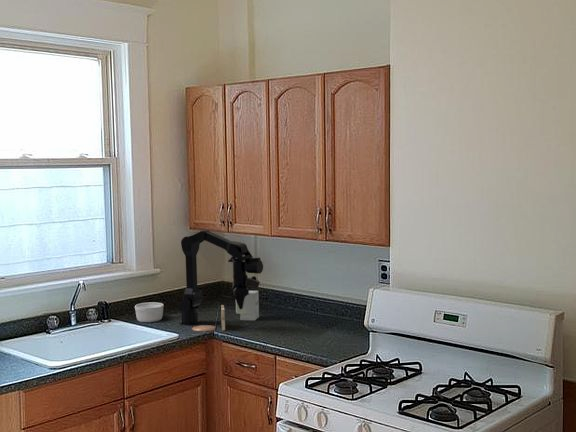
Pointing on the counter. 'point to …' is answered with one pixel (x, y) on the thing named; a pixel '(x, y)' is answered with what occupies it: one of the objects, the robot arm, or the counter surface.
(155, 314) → the ramekin
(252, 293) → the supplement box
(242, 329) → the counter surface
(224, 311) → the divider board
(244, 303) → the sage block
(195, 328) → the disc
